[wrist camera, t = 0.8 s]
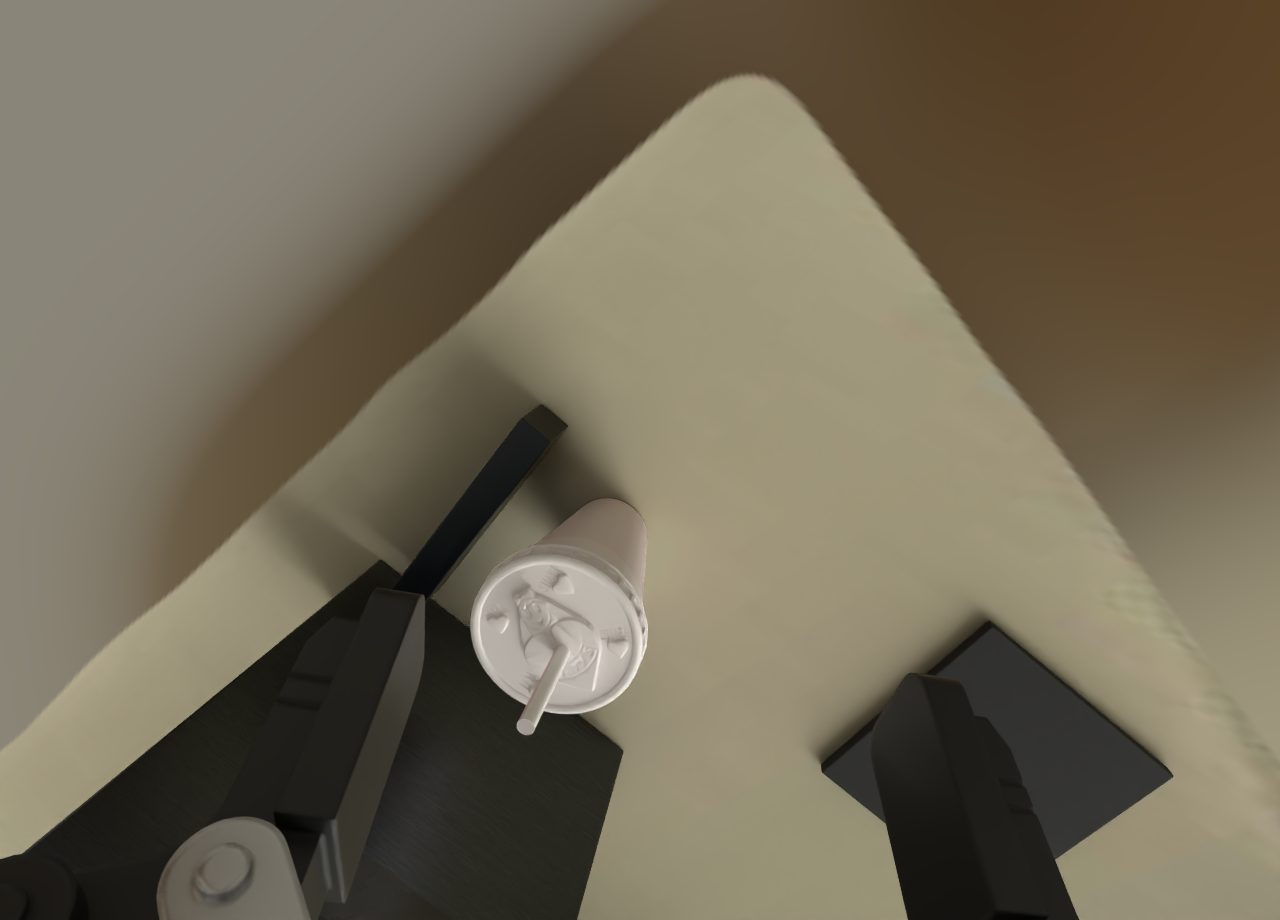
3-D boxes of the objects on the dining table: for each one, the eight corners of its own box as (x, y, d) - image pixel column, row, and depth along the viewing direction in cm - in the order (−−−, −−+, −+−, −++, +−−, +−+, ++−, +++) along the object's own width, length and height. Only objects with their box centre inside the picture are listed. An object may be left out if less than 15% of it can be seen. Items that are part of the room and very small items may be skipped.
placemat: (988, 619, 33) (992, 626, 33) (1167, 768, 34) (1174, 776, 33) (820, 764, 37) (821, 772, 36) (985, 896, 37) (988, 906, 37)
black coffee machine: (512, 379, 34) (-86, 701, 10) (779, 597, 35) (814, 1368, 11) (342, 610, 39) (-324, 1189, 15) (579, 795, 40) (304, 1617, 16)
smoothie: (593, 617, 36) (496, 832, 23) (517, 513, 35) (370, 674, 22) (702, 556, 35) (664, 751, 21) (625, 444, 34) (535, 576, 20)
